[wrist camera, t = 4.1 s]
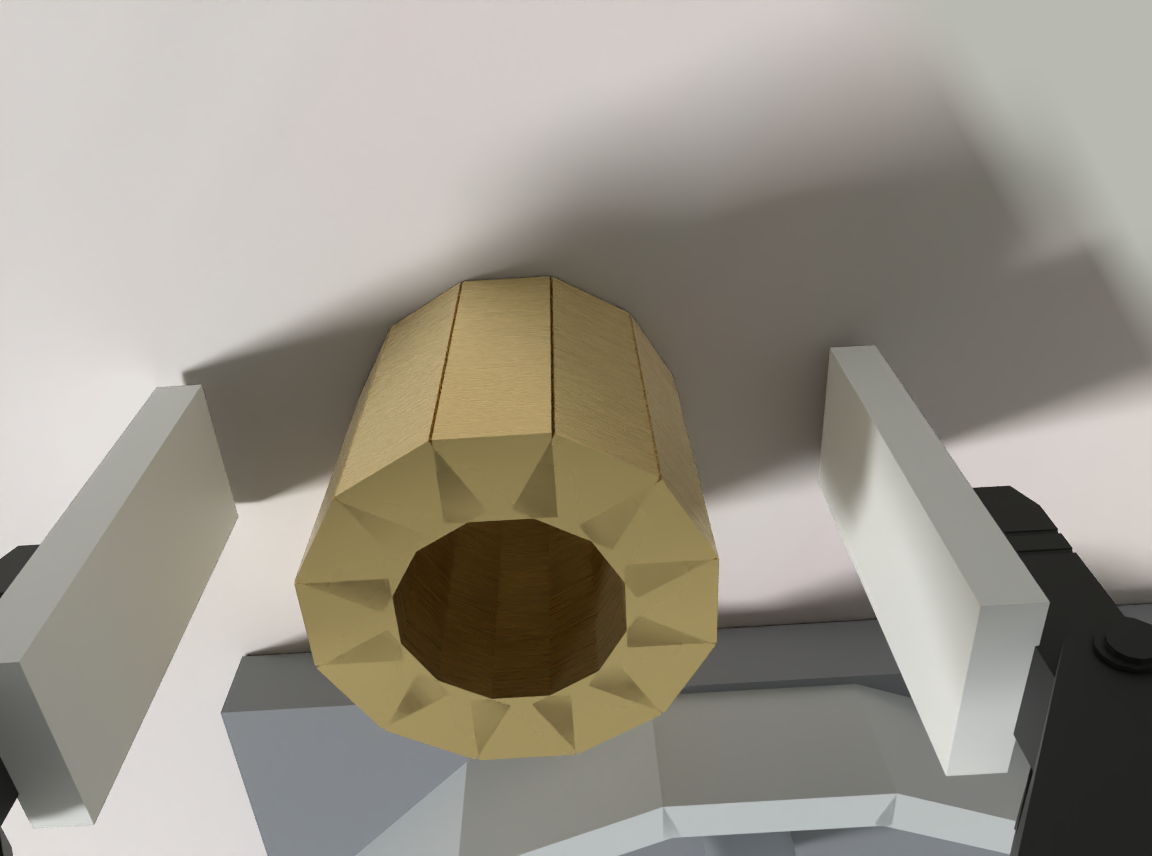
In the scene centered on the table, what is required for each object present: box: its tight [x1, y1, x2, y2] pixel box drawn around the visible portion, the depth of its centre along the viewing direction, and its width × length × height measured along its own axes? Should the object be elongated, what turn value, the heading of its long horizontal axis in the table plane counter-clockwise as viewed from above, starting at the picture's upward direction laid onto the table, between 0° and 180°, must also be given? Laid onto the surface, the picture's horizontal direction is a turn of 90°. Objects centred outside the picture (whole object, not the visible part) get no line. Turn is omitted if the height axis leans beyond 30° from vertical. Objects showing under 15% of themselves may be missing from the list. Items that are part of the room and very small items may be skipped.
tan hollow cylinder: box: [295, 276, 719, 760], centre depth 15 cm, size 5×5×5 cm
